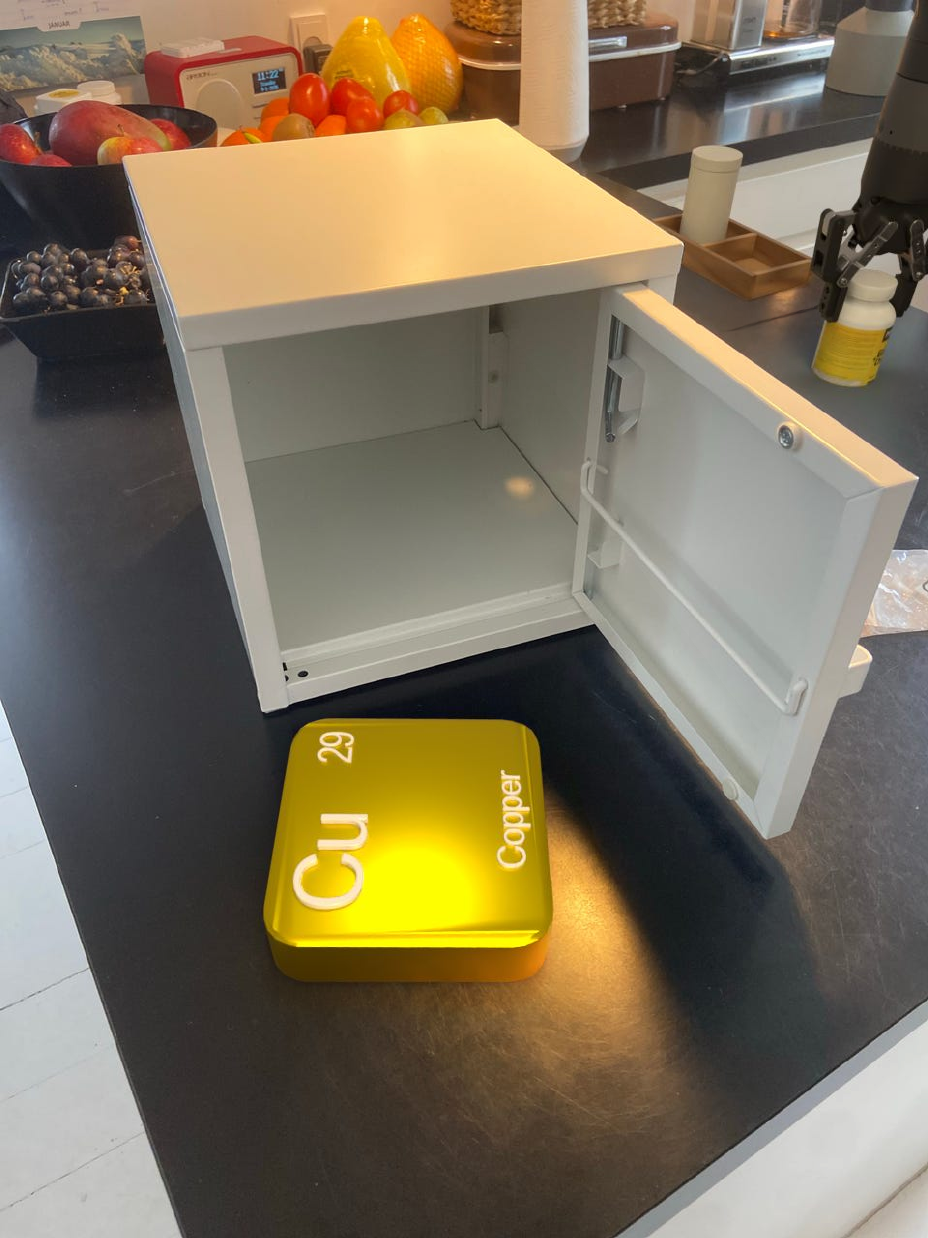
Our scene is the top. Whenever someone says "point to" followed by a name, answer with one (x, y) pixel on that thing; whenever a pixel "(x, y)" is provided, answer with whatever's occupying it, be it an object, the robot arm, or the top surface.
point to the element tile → (411, 853)
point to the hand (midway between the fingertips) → (861, 316)
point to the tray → (743, 260)
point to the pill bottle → (857, 331)
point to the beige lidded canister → (710, 193)
